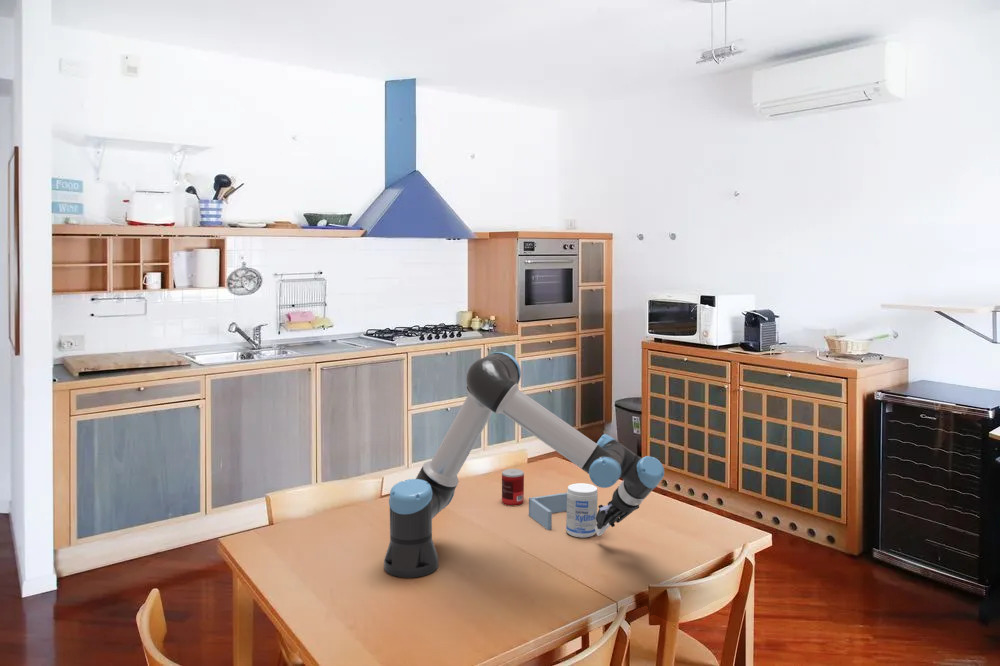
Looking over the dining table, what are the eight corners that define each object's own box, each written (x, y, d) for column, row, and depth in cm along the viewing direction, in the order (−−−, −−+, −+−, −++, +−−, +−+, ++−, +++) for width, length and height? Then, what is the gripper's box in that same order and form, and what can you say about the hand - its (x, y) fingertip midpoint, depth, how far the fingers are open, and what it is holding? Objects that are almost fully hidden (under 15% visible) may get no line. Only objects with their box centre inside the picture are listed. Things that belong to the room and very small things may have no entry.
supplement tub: (577, 540, 228) (577, 494, 226) (560, 530, 236) (560, 485, 235) (602, 535, 233) (603, 489, 231) (585, 525, 241) (586, 481, 239)
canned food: (524, 499, 266) (524, 469, 264) (522, 506, 258) (523, 475, 257) (503, 498, 266) (503, 468, 265) (500, 505, 259) (500, 475, 257)
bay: (595, 522, 243) (596, 504, 243) (548, 530, 237) (548, 511, 236) (574, 508, 256) (574, 491, 256) (528, 515, 249) (528, 498, 249)
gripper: (614, 509, 203) (583, 546, 221) (654, 503, 209) (620, 539, 226) (604, 485, 208) (574, 522, 225) (644, 479, 213) (612, 516, 230)
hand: (597, 531), depth 225 cm, fingers closed
